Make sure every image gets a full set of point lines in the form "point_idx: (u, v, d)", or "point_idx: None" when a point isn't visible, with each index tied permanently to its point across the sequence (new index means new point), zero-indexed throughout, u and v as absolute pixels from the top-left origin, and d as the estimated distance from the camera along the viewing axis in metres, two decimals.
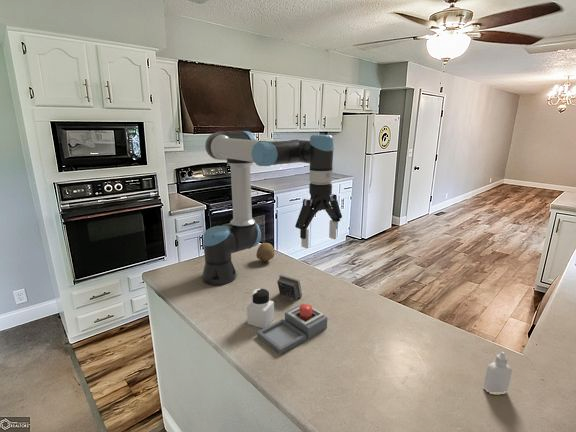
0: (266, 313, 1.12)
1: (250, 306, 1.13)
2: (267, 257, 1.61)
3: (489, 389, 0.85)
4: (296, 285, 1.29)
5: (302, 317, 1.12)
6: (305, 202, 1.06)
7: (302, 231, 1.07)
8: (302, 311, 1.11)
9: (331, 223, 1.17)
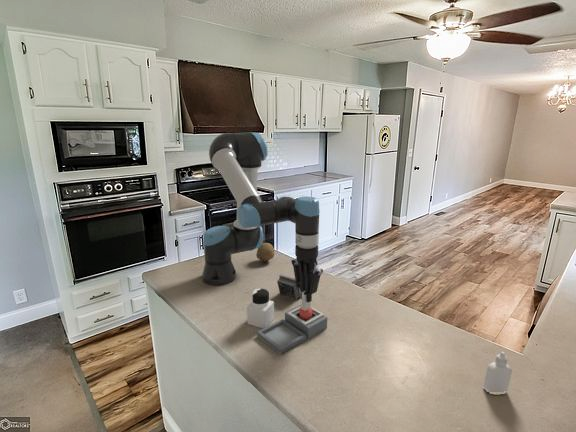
0: (266, 313, 1.12)
1: (250, 306, 1.13)
2: (267, 257, 1.61)
3: (489, 389, 0.85)
4: None
5: None
6: None
7: None
8: (302, 313, 1.11)
9: None
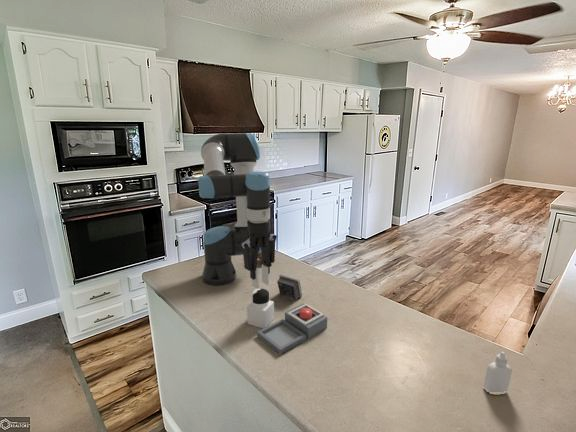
0: (266, 313, 1.12)
1: (250, 306, 1.13)
2: None
3: (489, 389, 0.85)
4: (296, 285, 1.29)
5: None
6: (243, 246, 1.04)
7: (252, 272, 1.08)
8: (302, 315, 1.11)
9: (263, 268, 1.13)
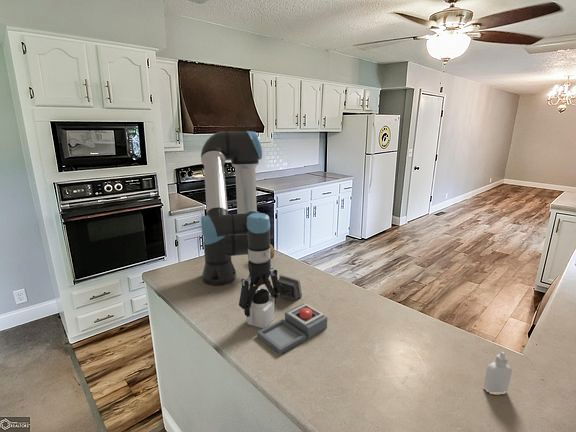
0: (266, 313, 1.12)
1: None
2: None
3: (489, 389, 0.85)
4: (296, 285, 1.29)
5: None
6: (243, 283, 1.07)
7: (246, 309, 1.10)
8: (302, 315, 1.11)
9: (269, 299, 1.18)
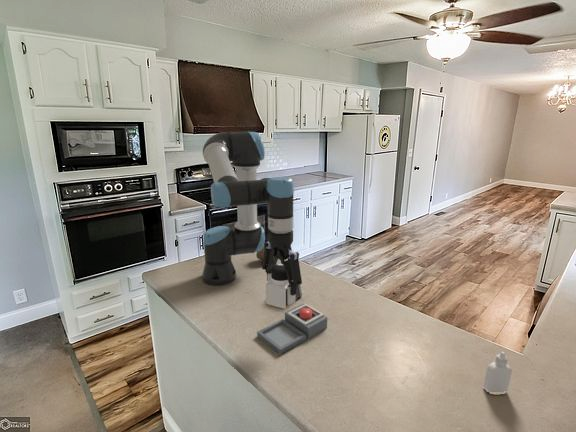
0: (269, 289, 1.00)
1: None
2: None
3: (489, 389, 0.85)
4: None
5: None
6: None
7: None
8: (302, 315, 1.11)
9: None
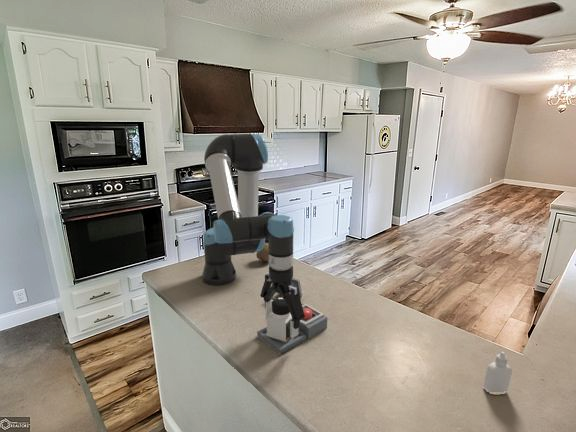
0: (270, 323, 1.03)
1: None
2: (267, 257, 1.61)
3: (489, 389, 0.85)
4: (296, 285, 1.29)
5: None
6: None
7: None
8: None
9: None
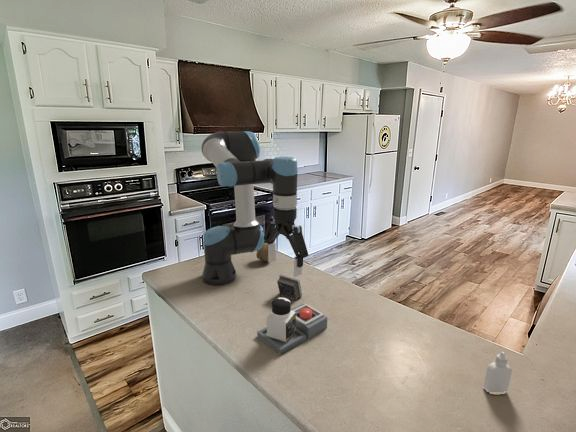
0: (270, 323, 1.03)
1: None
2: (267, 257, 1.61)
3: (489, 389, 0.85)
4: (296, 285, 1.29)
5: None
6: None
7: None
8: (302, 315, 1.11)
9: None
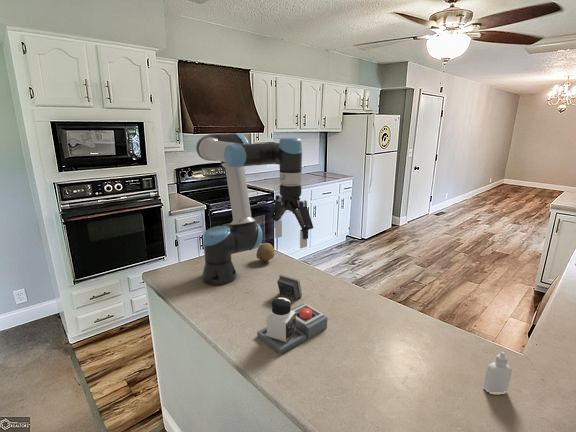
0: (270, 323, 1.03)
1: None
2: (267, 257, 1.61)
3: (489, 389, 0.85)
4: (296, 285, 1.29)
5: None
6: None
7: None
8: (302, 315, 1.11)
9: None
